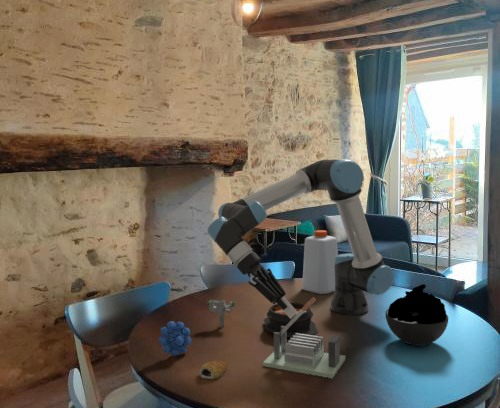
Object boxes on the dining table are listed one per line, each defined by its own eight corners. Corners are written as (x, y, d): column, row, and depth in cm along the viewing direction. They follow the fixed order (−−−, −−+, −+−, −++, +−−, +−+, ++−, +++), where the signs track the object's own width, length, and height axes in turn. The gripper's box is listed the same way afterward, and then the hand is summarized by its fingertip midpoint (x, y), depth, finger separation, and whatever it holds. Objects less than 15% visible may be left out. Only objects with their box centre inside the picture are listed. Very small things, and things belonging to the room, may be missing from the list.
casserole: (252, 324, 187) (252, 303, 186) (294, 316, 194) (294, 295, 193) (284, 347, 164) (284, 323, 163) (330, 337, 172) (330, 314, 171)
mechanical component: (234, 329, 182) (233, 303, 181) (207, 327, 184) (206, 302, 183) (235, 326, 185) (235, 300, 184) (209, 325, 187) (208, 299, 186)
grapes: (165, 365, 152) (164, 328, 151) (156, 358, 158) (154, 322, 156) (198, 355, 159) (196, 319, 158) (188, 349, 164) (186, 314, 163)
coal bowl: (417, 360, 151) (417, 301, 149) (372, 339, 169) (372, 286, 167) (461, 347, 160) (462, 291, 158) (415, 328, 178) (415, 277, 176)
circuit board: (263, 365, 150) (263, 362, 150) (280, 348, 162) (280, 345, 162) (332, 378, 140) (332, 374, 140) (345, 359, 153) (345, 355, 153)
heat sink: (271, 361, 150) (271, 335, 149) (284, 348, 160) (284, 323, 159) (332, 372, 142) (332, 344, 141) (342, 357, 152) (341, 331, 151)
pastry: (214, 365, 152) (214, 353, 152) (232, 369, 149) (232, 357, 148) (196, 377, 144) (196, 365, 144) (215, 382, 141) (215, 369, 140)
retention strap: (277, 340, 152) (274, 337, 152) (283, 333, 157) (281, 331, 157) (310, 305, 146) (307, 302, 146) (316, 299, 151) (313, 297, 151)
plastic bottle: (298, 289, 231) (297, 231, 228) (318, 283, 241) (318, 227, 238) (323, 296, 220) (323, 234, 217) (344, 289, 230) (343, 230, 227)
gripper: (246, 261, 163) (293, 316, 158) (227, 270, 151) (278, 329, 146) (260, 247, 160) (309, 302, 155) (242, 254, 149) (294, 314, 143)
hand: (294, 315), depth 150 cm, fingers closed
